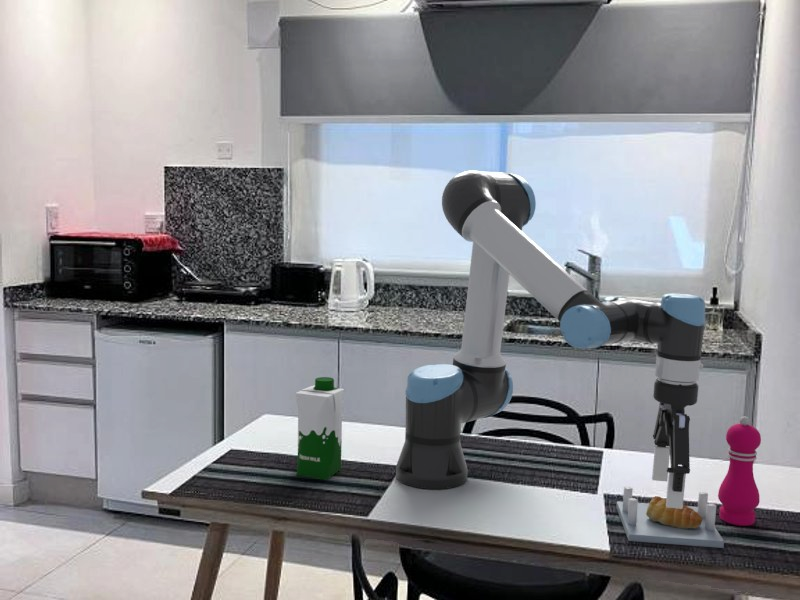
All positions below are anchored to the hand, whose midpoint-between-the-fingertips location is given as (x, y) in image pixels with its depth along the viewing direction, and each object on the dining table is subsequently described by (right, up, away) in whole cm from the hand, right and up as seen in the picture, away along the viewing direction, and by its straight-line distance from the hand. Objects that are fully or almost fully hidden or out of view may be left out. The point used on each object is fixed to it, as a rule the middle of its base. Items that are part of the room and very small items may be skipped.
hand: (666, 493), depth 150 cm
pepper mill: (+15, -6, +5) cm, 17 cm away
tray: (0, -6, 0) cm, 6 cm away
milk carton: (-66, -2, +25) cm, 71 cm away
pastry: (+1, -5, 0) cm, 5 cm away
